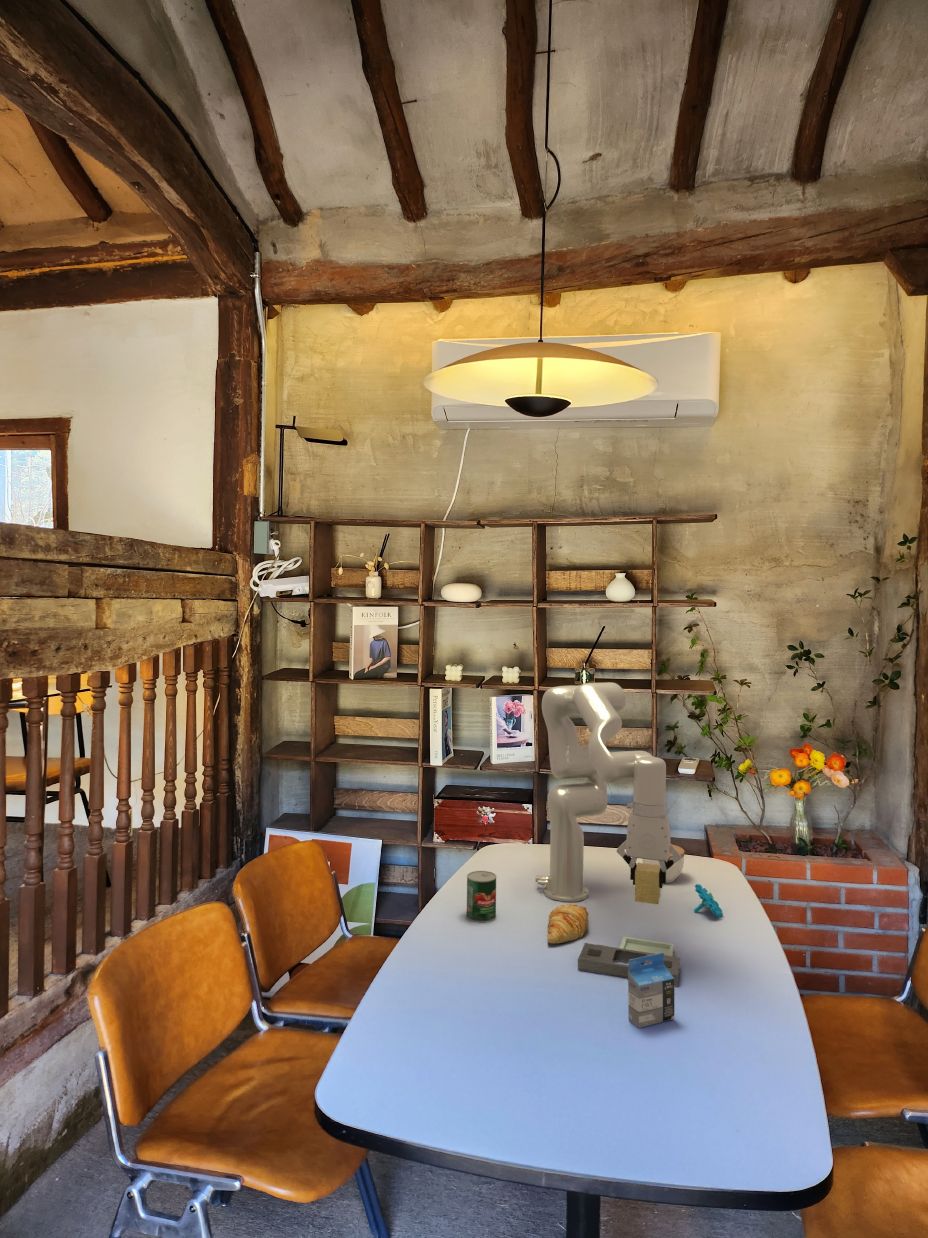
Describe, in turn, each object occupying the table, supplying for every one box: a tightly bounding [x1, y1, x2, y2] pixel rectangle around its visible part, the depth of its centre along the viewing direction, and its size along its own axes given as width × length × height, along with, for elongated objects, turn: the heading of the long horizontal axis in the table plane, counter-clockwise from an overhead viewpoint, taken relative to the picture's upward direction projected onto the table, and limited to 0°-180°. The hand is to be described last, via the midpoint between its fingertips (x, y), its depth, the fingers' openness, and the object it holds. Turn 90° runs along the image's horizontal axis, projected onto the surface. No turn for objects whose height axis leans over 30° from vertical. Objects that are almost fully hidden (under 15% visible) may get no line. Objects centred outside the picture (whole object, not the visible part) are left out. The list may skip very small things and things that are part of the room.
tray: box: [619, 936, 675, 957], centre depth 188 cm, size 12×8×2 cm, turn 71°
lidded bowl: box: [642, 844, 685, 884], centre depth 239 cm, size 13×13×11 cm
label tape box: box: [627, 953, 675, 1029], centre depth 158 cm, size 9×4×12 cm, turn 114°
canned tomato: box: [466, 870, 497, 924], centre depth 209 cm, size 8×8×11 cm
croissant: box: [547, 903, 589, 945], centre depth 200 cm, size 21×10×8 cm, turn 150°
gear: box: [693, 883, 724, 918], centre depth 214 cm, size 11×6×10 cm
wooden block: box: [634, 862, 662, 905], centre depth 188 cm, size 6×6×8 cm
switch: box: [577, 942, 681, 987], centre depth 180 cm, size 22×9×3 cm, turn 71°
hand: (648, 884), depth 188 cm, fingers closed on wooden block, 5 cm apart
